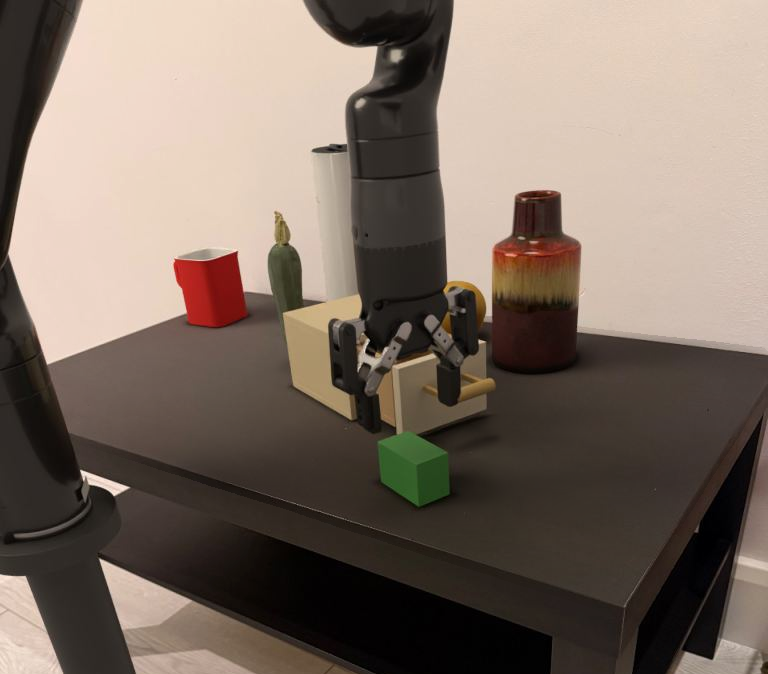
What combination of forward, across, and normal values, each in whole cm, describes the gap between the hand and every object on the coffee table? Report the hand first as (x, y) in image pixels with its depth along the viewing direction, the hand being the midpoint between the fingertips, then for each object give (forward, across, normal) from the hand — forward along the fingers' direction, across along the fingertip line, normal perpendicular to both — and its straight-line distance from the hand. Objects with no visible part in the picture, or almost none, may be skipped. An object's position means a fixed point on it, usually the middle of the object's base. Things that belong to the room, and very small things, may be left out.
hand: (411, 416), depth 70 cm
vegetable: (+8, +8, +39) cm, 40 cm away
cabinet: (+7, +10, +25) cm, 28 cm away
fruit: (+8, +30, +32) cm, 44 cm away
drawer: (+6, +10, +12) cm, 17 cm away
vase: (+8, +32, +18) cm, 37 cm away
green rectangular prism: (+7, 0, 0) cm, 7 cm away
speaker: (+8, +22, +44) cm, 49 cm away
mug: (+8, +8, +70) cm, 71 cm away
